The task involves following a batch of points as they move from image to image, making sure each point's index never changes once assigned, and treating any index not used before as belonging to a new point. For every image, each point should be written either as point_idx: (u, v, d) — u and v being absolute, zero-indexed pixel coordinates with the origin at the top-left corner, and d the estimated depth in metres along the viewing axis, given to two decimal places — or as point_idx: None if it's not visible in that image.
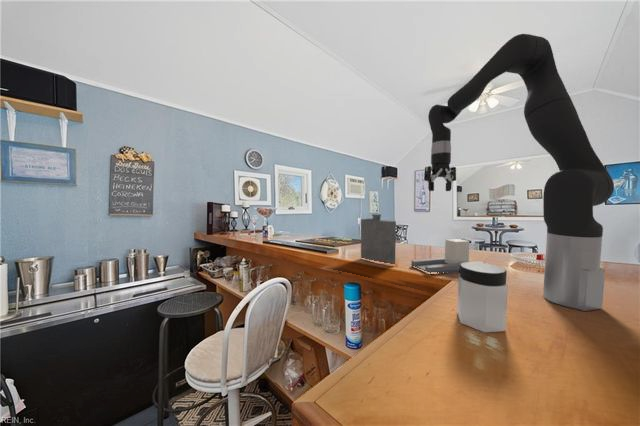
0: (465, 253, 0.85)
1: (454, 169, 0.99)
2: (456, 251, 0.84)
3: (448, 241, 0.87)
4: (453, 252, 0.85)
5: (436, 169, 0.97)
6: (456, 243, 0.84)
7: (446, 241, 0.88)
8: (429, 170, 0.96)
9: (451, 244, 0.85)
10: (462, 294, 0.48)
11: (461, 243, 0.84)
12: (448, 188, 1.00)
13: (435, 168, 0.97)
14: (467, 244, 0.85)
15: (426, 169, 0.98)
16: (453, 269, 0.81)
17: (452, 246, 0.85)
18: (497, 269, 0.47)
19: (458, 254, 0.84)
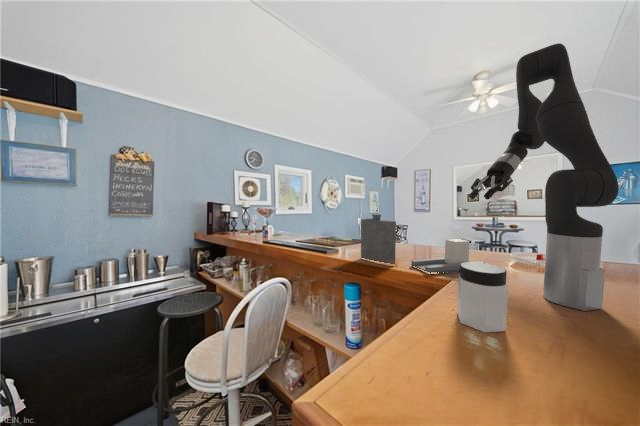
0: (465, 253, 0.85)
1: (506, 177, 0.84)
2: (456, 251, 0.84)
3: (448, 241, 0.87)
4: (453, 252, 0.85)
5: (484, 179, 0.92)
6: (456, 243, 0.84)
7: (446, 241, 0.88)
8: (475, 181, 0.95)
9: (451, 244, 0.85)
10: (462, 294, 0.48)
11: (461, 243, 0.84)
12: None
13: (484, 178, 0.93)
14: (467, 244, 0.85)
15: None
16: (453, 269, 0.81)
17: (452, 246, 0.85)
18: (497, 269, 0.47)
19: (458, 254, 0.84)
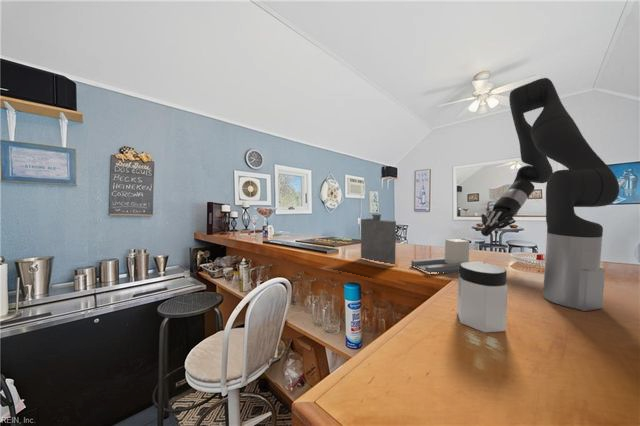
0: (465, 253, 0.85)
1: (508, 217, 0.85)
2: (456, 251, 0.84)
3: (448, 241, 0.87)
4: (453, 252, 0.85)
5: (490, 215, 0.93)
6: (456, 243, 0.84)
7: (446, 241, 0.88)
8: (482, 217, 0.95)
9: (451, 244, 0.85)
10: (462, 294, 0.48)
11: (461, 243, 0.84)
12: None
13: (490, 212, 0.93)
14: (467, 244, 0.85)
15: None
16: (453, 269, 0.81)
17: (452, 246, 0.85)
18: (497, 269, 0.47)
19: (458, 254, 0.84)
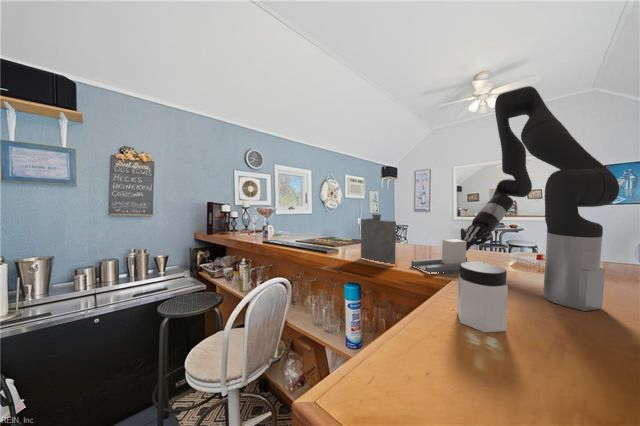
0: (462, 253, 0.84)
1: (485, 234, 0.83)
2: (453, 251, 0.83)
3: (445, 241, 0.86)
4: (450, 252, 0.84)
5: (468, 230, 0.91)
6: (453, 243, 0.83)
7: (443, 241, 0.87)
8: (461, 231, 0.93)
9: (448, 244, 0.85)
10: (462, 294, 0.48)
11: (458, 243, 0.84)
12: None
13: (469, 227, 0.91)
14: (464, 244, 0.84)
15: None
16: (453, 269, 0.81)
17: (449, 246, 0.85)
18: (497, 269, 0.47)
19: (455, 254, 0.84)
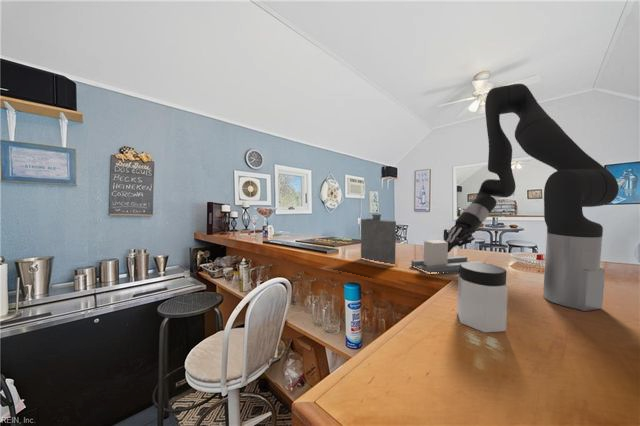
0: (443, 255, 0.83)
1: (467, 235, 0.81)
2: (434, 253, 0.82)
3: (427, 242, 0.85)
4: (431, 254, 0.83)
5: (451, 230, 0.89)
6: (434, 244, 0.81)
7: (425, 242, 0.86)
8: (444, 232, 0.91)
9: (430, 246, 0.83)
10: (462, 294, 0.48)
11: (439, 244, 0.82)
12: None
13: (452, 228, 0.90)
14: (445, 245, 0.82)
15: None
16: (453, 269, 0.81)
17: (430, 248, 0.83)
18: (497, 269, 0.47)
19: (436, 256, 0.82)
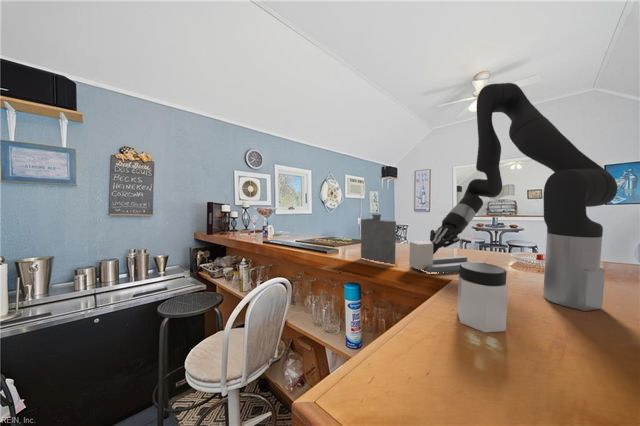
0: (429, 256, 0.81)
1: (453, 235, 0.80)
2: (419, 254, 0.80)
3: (412, 243, 0.83)
4: (416, 255, 0.81)
5: (438, 231, 0.87)
6: (419, 245, 0.80)
7: (410, 243, 0.84)
8: (431, 233, 0.89)
9: (415, 247, 0.82)
10: (462, 294, 0.48)
11: (424, 245, 0.80)
12: None
13: (439, 228, 0.88)
14: (431, 246, 0.81)
15: None
16: (453, 269, 0.81)
17: (415, 249, 0.82)
18: (497, 269, 0.47)
19: (421, 257, 0.80)
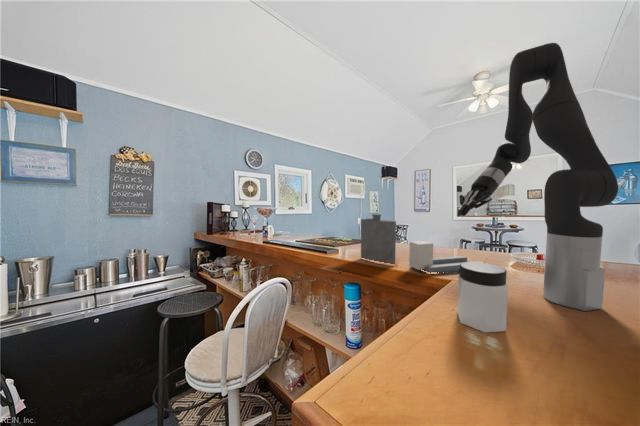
0: (429, 256, 0.81)
1: (485, 195, 0.82)
2: (419, 254, 0.80)
3: (412, 243, 0.83)
4: (416, 255, 0.81)
5: (467, 195, 0.90)
6: (419, 245, 0.80)
7: (410, 243, 0.84)
8: (460, 197, 0.92)
9: (415, 247, 0.82)
10: (462, 294, 0.48)
11: (424, 245, 0.80)
12: None
13: (468, 193, 0.90)
14: (431, 246, 0.81)
15: None
16: (453, 269, 0.81)
17: (415, 249, 0.82)
18: (497, 269, 0.47)
19: (421, 257, 0.80)
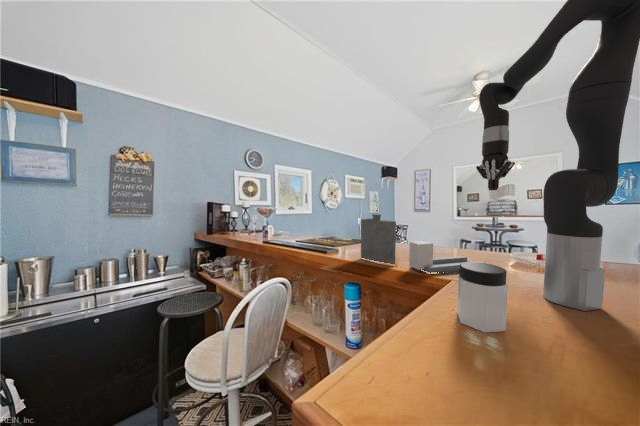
0: (429, 256, 0.81)
1: (506, 164, 0.77)
2: (419, 254, 0.80)
3: (412, 243, 0.83)
4: (416, 255, 0.81)
5: (485, 165, 0.84)
6: (419, 245, 0.80)
7: (410, 243, 0.84)
8: (479, 170, 0.87)
9: (415, 247, 0.82)
10: (462, 294, 0.48)
11: (424, 245, 0.80)
12: None
13: (483, 162, 0.85)
14: (431, 246, 0.81)
15: None
16: (453, 269, 0.81)
17: (415, 249, 0.82)
18: (497, 269, 0.47)
19: (421, 257, 0.80)
